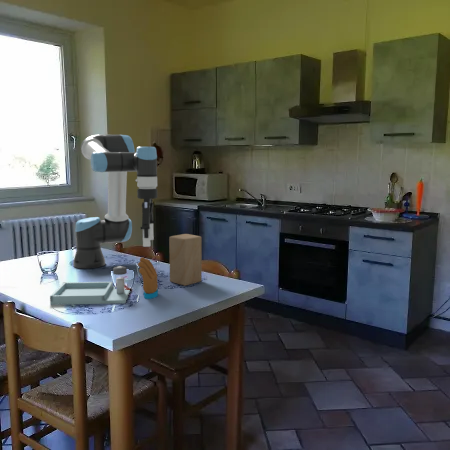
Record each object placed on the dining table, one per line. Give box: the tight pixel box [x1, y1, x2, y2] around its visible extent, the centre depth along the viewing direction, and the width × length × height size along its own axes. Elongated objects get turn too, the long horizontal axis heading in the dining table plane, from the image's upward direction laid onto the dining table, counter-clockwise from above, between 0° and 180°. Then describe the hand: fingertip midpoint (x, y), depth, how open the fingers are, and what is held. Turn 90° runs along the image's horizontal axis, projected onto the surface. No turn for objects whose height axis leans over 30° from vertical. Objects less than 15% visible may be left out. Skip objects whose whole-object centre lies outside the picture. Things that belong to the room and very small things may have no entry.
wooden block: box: [168, 233, 203, 286], centre depth 195 cm, size 10×10×20 cm
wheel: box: [112, 265, 127, 276], centre depth 175 cm, size 5×5×2 cm
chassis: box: [49, 277, 131, 306], centre depth 175 cm, size 18×27×7 cm, turn 94°
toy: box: [137, 256, 159, 300], centre depth 177 cm, size 12×7×15 cm, turn 168°
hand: (148, 243), depth 175 cm, fingers open, 13 cm apart
